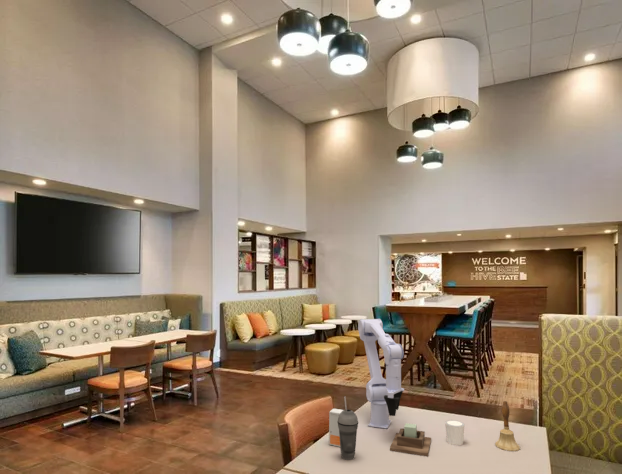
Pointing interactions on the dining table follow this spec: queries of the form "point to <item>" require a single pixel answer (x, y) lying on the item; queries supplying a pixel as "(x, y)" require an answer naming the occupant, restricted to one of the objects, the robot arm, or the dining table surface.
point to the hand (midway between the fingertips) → (393, 412)
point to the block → (410, 430)
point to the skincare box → (334, 427)
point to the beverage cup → (347, 432)
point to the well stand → (411, 443)
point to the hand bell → (506, 433)
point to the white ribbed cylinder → (454, 432)
